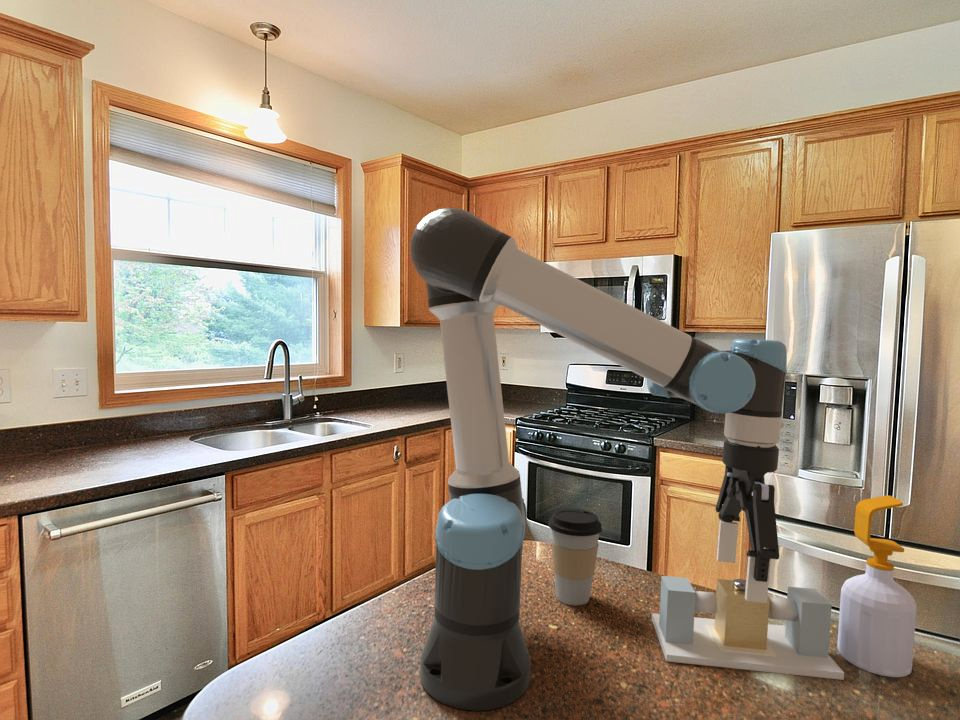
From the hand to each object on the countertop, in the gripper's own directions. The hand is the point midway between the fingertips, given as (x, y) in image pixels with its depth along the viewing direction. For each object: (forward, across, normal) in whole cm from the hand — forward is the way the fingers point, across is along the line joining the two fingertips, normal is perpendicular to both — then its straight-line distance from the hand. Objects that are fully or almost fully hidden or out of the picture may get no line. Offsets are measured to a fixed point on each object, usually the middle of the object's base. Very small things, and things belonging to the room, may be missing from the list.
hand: (739, 579), depth 84 cm
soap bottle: (+10, 0, -20) cm, 22 cm away
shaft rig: (+10, 0, -1) cm, 11 cm away
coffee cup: (+11, +11, +24) cm, 29 cm away
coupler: (+9, 0, -1) cm, 9 cm away
